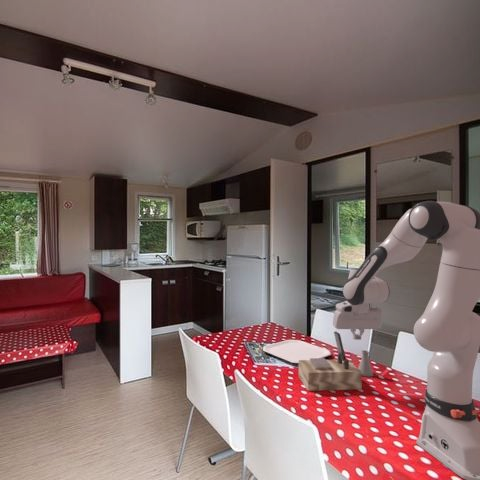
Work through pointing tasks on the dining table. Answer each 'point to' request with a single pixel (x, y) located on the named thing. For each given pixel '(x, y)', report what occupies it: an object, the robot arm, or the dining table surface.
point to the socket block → (330, 376)
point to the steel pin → (319, 363)
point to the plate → (295, 351)
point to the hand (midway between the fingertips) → (356, 339)
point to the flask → (365, 364)
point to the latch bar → (339, 346)
